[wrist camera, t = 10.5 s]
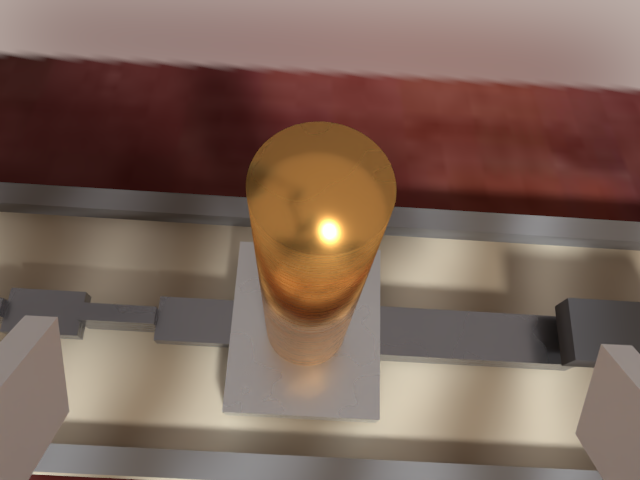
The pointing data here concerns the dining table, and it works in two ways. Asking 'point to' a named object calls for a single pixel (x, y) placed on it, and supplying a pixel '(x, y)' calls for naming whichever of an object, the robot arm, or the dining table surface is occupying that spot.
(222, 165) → the dining table surface
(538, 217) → the rail
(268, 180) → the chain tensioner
